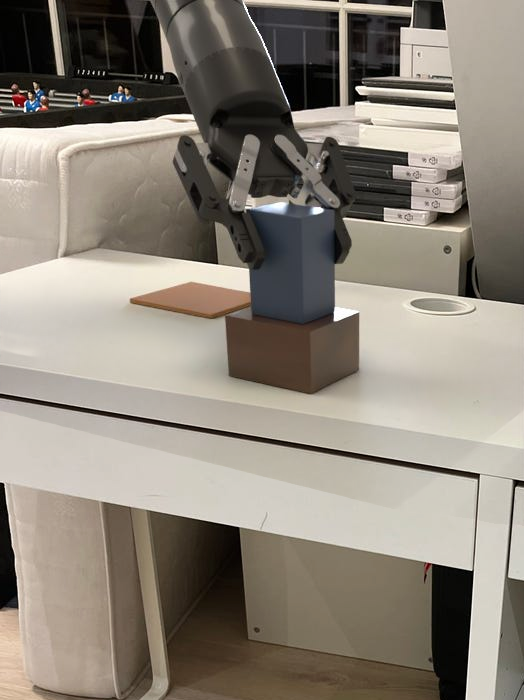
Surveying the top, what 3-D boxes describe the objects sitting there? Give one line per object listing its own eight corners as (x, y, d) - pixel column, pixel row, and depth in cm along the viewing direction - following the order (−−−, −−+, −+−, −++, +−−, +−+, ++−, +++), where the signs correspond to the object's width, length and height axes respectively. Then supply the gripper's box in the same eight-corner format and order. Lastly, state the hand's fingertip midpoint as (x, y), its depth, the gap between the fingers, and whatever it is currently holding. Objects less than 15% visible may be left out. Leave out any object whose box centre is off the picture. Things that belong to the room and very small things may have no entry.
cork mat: (211, 318, 96) (211, 314, 96) (129, 302, 99) (129, 298, 99) (268, 299, 104) (268, 295, 104) (191, 285, 107) (191, 281, 107)
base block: (311, 394, 79) (309, 331, 77) (228, 376, 82) (224, 315, 79) (359, 370, 86) (359, 311, 83) (281, 353, 88) (279, 296, 85)
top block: (303, 324, 78) (300, 217, 74) (250, 314, 80) (245, 208, 76) (335, 312, 82) (334, 210, 78) (284, 302, 84) (281, 201, 79)
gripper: (150, 37, 72) (229, 236, 71) (322, 48, 80) (396, 227, 78) (133, 111, 78) (205, 295, 77) (294, 114, 86) (362, 282, 85)
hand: (301, 260), depth 78 cm, fingers closed on top block, 7 cm apart
